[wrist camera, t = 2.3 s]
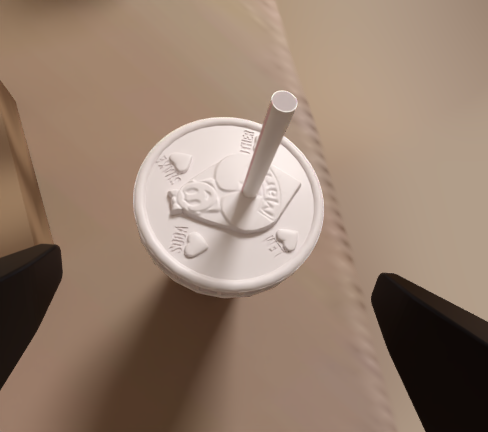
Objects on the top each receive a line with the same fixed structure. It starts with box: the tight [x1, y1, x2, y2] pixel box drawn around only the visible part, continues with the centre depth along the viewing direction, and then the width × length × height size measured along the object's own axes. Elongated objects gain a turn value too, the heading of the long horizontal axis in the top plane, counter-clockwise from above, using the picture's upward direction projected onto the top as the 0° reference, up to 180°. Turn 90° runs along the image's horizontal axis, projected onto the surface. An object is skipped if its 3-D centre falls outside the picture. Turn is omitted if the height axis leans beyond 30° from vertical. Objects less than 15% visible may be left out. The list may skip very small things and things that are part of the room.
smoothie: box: [133, 91, 324, 298], centre depth 13 cm, size 6×6×14 cm
